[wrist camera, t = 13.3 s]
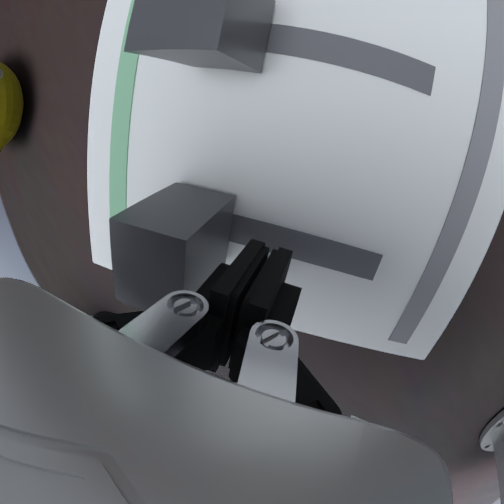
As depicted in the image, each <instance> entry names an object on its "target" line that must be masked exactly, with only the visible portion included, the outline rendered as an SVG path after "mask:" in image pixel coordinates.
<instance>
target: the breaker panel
mask: <svg viewBox="0 0 504 504" xmlns="http://www.w3.org/2000/svg"><path fill="white" fill-rule="evenodd" d="M134 1H135V0H108V1H107V5H106V9H105V14H104V18H103V22H102V27H101V32H100V37H99V42H98V48H97V53H96V60H95V66H94V73H93V81H92V90H91V100H90V111H89V126H88V152H87V185H88V211H89V226H90V238H91V249H92V258H93V263H96V264H98V265H101V266H104V267H106V268H109V269H111V270H112V260H111V246H110V229H109V218H111V217H113V216H114V215H116V214H118V213H119V212H121V211H123V210H125V209H127V208H128V207H130V206H132V205H134V204H136V203H137V202H139V201H141V200H143V199H145V198H147V197H149V196H150V195H152V194H154V193H156V192H158V191H160V190H162V189H164V188H166V187H168V186H170V185H172V184H174V183H176V182H177V183H182V184H187V185H191V186H196V187H201V188H205V189H210V190H214V191H218V192H223V193H227V194H231V195H235V196H236V198H235V205H234V211H233V217H232V224H231V230H230V237H229V244H228V250H227V257H226V263H225V264H228V265H231V263H232V262H233V261H234V260H235V258H236V257H237V256H238V255H239V253H240V252H241V251H242V250H243V249H244V247H245V246H246V245H247V244H248V242H249V241H250V240H251V239H255V240H259V241H262V242H265V246H266V247H269V254H268V257H269V255H270V254H271V252H272V250H273V249H276V250H278V249H279V247H282V248H285V249H288V250H292V251H293V254H292V258H291V262H290V265H289V269H288V272H287V276H286V280H285V283H288V284H291V285H294V286H297V287H300V288H302V290H301V293H300V297H299V300H298V303H297V307H296V310H295V313H294V316H293V320H292V323H291V326H290V327H291V328H292V329H293V330H297V331H301V332H304V333H308V334H312V335H316V336H320V337H323V338H327V339H331V340H335V341H339V342H343V343H348V344H352V345H356V346H360V347H364V348H369V349H373V350H378V351H382V352H387V353H391V354H396V355H401V356H405V357H410V358H415V359H420V360H424V359H425V358H426V356H427V355H428V354H429V352H430V351H431V349H432V348H433V346H434V345H435V343H436V342H437V340H438V339H439V337H440V336H441V334H442V333H443V331H444V330H445V328H446V326H447V325H448V323H449V322H450V320H451V318H452V317H453V315H454V313H455V312H456V310H457V308H458V307H459V305H460V303H461V301H462V300H463V298H464V296H465V294H466V292H467V290H468V289H469V287H470V285H471V283H472V281H473V279H474V277H475V275H476V273H477V271H478V269H479V267H480V265H481V263H482V261H483V259H484V256H485V254H486V252H487V250H488V248H489V245H490V243H491V241H492V238H493V236H494V233H495V231H496V229H497V226H498V223H499V221H500V218H501V216H502V213H503V210H504V0H275V6H274V11H273V16H272V21H271V26H270V31H269V36H268V41H267V46H266V51H265V56H264V61H263V67H262V72H261V73H254V72H246V71H237V70H228V69H216V68H202V67H192V66H188V65H184V64H180V63H176V62H172V61H168V60H164V59H159V58H154V57H150V56H144V55H139V54H134V53H128V52H124V47H125V42H126V37H127V32H128V27H129V22H130V18H131V13H132V9H133V5H134ZM267 259H268V258H267Z"/></svg>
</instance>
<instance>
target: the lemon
mask: <svg viewBox="0 0 504 504" xmlns="http://www.w3.org/2000/svg"><path fill="white" fill-rule="evenodd" d="M23 105H24V104H23V95H22V89H21V86H20V83H19V80H18V79H17V77H16V75H15V74H14V73H13V72H12V70H10V69H9V68H8V67H7V66H6V65H5V64H3V63H1V62H0V151H1V150H2V148H3V147H4V146H5V145H6V144H8V143H9V142H10V141H11V140H12V138H13V137H14V136H15V134H16V132H17V130H18V128H19V126H20V123H21V119H22V114H23Z"/></svg>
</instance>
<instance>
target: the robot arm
mask: <svg viewBox="0 0 504 504" xmlns="http://www.w3.org/2000/svg"><path fill="white" fill-rule="evenodd" d="M268 254H269V247H266V246H265V242H262V241H259V240H255V239H251V240H250V241H249V242H248V244H247V245H246V246H245V247H244V249H243V250H242V251H241V252H240V253H239V255H238V256H237V257H236V258H235V260H234V261H233V262H232V263H231V265H228V264H225V263H221V264H220V265H219V266H218V267H217V268H216V269H215V270H214V272H213V273H212V274H211V275H210V276H209V277H208V278H207V280H206V281H205V282H204V283H203V284H202V285H201V286H200V288H199V289H198V290H197V291H196V292H193V291H187V290H180V291H175V292H172V293H170V294H168V295H166V296H165V297H164V298H162V299H161V300H159V301H158V302H157V303H155V304H154V305H153V306H151V307H150V308H148V309H147V310H146V311H139V312H131V313H122V314H114V315H105V316H100V317H97V318H93V315H90V314H87V313H84V312H82V311H80V310H79V309H77V308H75V307H73V306H72V305H70V304H68V303H67V302H65V301H63V300H61V299H59V298H58V297H56V296H54V295H52V294H51V293H49V292H47V291H45V290H44V289H42V288H40V287H38V286H35V285H33V284H31V283H28V282H25V281H22V280H18V279H13V278H0V504H453V491H452V484H451V478H450V474H449V471H448V468H447V465H446V463H445V461H444V460H443V458H442V457H441V456H440V455H439V453H437V452H436V451H435V450H434V449H433V448H431V447H430V446H428V445H427V444H425V443H423V442H421V441H420V440H418V439H416V438H414V437H412V436H410V435H407V434H405V433H402V432H400V431H397V430H394V429H391V428H388V427H385V426H382V425H378V424H374V423H370V422H367V421H364V420H362V419H360V418H357V417H355V416H353V415H350V417H346V416H344V415H342V413H341V410H340V409H339V407H338V405H337V404H336V403H335V402H334V401H333V399H332V398H331V397H330V396H329V395H328V393H327V392H326V391H325V390H324V388H323V387H322V386H321V385H320V384H319V382H318V381H317V380H316V379H315V377H314V376H313V375H312V374H311V372H310V371H309V370H308V369H307V368H306V366H305V365H304V364H303V363H302V361H301V360H300V359H299V358H298V346H299V340H298V335H297V334H296V332H295V331H294V330H293V329H292V328H291V327H290V326H291V323H292V320H293V316H294V313H295V310H296V307H297V303H298V300H299V297H300V293H301V290H302V288H300V287H297V286H294V285H291V284H288V283H285V280H286V276H287V272H288V269H289V265H290V262H291V258H292V254H293V251H292V250H288V249H285V248H282V247H279V249H278V250H276V249H273V250H272V252H271V254H270V255H269V257H268ZM267 258H268V259H267ZM230 356H231V357H230ZM229 357H230V362H229V367H228V368H229V369H230V372H229V377H230V379H231V381H230V380H227V379H225V378H222V377H219V376H217V375H214V374H212V373H209V372H207V371H205V370H210V371H212V372H216V371H217V369H218V367H219V365H221V366H225V365H226V363H227V361H228V359H229ZM479 441H480V446H481V448H482V449H483V450H485V451H494V455H495V461H496V467H497V473H498V481H499V489H500V499H501V504H504V410H502V411H501V412H500V413H499V414H498V415H497V416H496V417H494V418H493V419H492V420H491V421H490V423H489V424H488V425H487V426H486V427H485V429H484V430H483V431H482V433H481V435H480V440H479Z"/></svg>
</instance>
